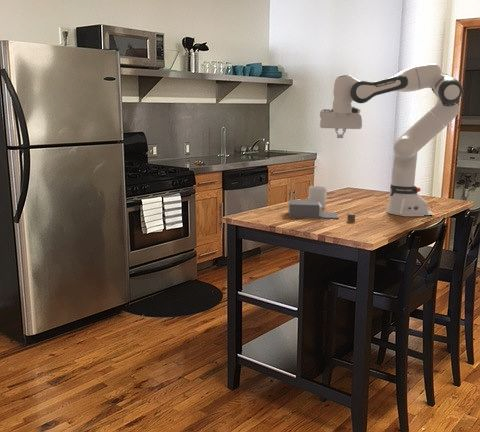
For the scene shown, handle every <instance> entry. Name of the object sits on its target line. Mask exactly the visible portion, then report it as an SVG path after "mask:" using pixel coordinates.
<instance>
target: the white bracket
mask: <svg viewBox="0 0 480 432" xmlns="http://www.w3.org/2000/svg"><path fill="white" fill-rule="evenodd" d="M318 203H319V216H322V212H323V210H322V206H321V204H320V202H318Z"/></svg>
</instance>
